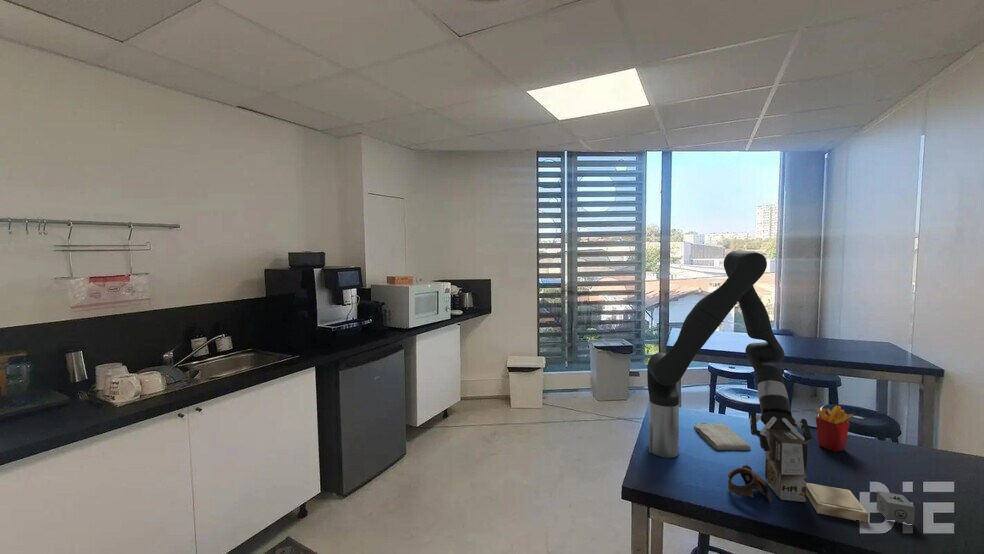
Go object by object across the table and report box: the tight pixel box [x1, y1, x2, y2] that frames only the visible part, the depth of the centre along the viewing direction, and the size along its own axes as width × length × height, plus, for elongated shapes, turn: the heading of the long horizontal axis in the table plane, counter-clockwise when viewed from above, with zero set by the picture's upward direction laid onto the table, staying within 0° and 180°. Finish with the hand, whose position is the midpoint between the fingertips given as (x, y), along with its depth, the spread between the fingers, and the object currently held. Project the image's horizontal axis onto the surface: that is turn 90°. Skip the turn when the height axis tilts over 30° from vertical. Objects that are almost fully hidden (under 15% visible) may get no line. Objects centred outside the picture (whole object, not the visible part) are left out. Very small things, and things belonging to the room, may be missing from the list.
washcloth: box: [693, 422, 751, 451], centre depth 141 cm, size 12×18×3 cm, turn 178°
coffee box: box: [764, 429, 808, 503], centre depth 109 cm, size 9×6×16 cm
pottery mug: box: [727, 464, 772, 504], centre depth 109 cm, size 12×10×8 cm
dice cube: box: [876, 490, 916, 526], centre depth 98 cm, size 5×5×5 cm
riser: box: [806, 482, 869, 523], centre depth 103 cm, size 10×10×3 cm
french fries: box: [815, 405, 854, 453], centre depth 131 cm, size 9×8×15 cm
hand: (783, 452), depth 110 cm, fingers open, 8 cm apart
